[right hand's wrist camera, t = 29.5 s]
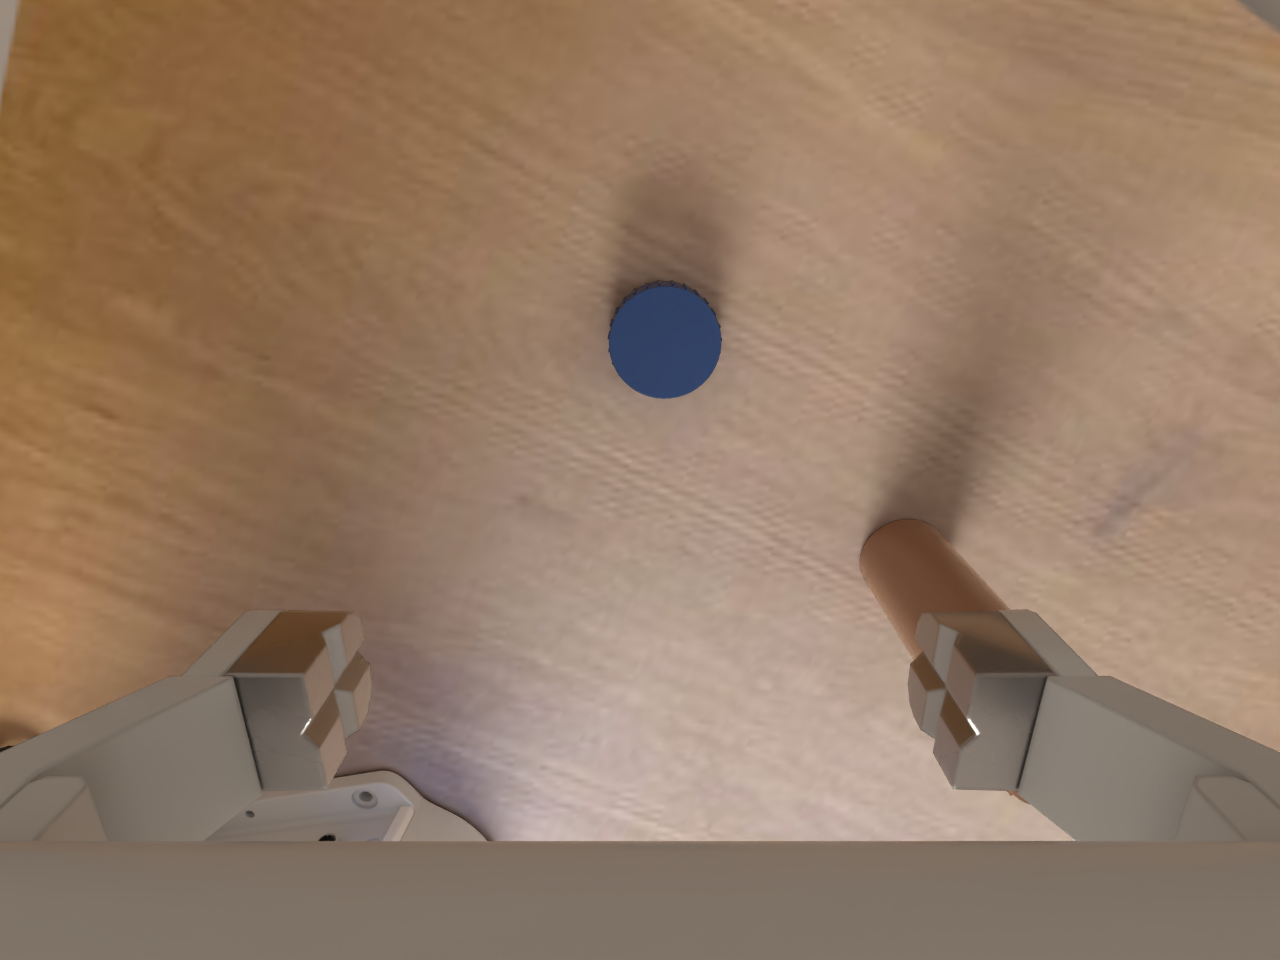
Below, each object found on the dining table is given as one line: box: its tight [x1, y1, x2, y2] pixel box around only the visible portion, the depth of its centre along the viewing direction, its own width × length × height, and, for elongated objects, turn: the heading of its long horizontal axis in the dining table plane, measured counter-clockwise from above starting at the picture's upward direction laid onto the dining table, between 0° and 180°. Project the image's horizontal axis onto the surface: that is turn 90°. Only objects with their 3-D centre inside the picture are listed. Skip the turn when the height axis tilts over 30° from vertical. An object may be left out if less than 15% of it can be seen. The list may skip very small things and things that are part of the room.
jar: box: [860, 519, 1031, 805], centre depth 33 cm, size 5×5×16 cm
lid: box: [608, 280, 722, 399], centre depth 35 cm, size 6×6×2 cm
